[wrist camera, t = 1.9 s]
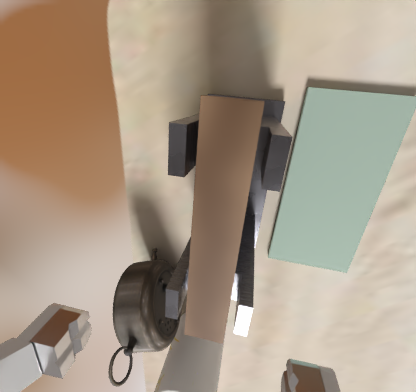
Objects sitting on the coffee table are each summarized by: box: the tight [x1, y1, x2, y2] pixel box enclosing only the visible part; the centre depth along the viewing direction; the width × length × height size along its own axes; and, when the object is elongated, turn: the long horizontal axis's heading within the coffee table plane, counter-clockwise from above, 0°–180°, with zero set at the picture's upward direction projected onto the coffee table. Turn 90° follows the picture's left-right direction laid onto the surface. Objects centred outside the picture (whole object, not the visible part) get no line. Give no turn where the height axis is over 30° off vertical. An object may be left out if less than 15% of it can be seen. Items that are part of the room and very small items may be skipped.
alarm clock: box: [109, 248, 181, 386], centre depth 30 cm, size 11×5×16 cm, turn 15°
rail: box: [184, 95, 265, 344], centre depth 17 cm, size 3×18×3 cm, turn 175°
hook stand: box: [165, 94, 292, 336], centre depth 22 cm, size 8×18×15 cm, turn 175°
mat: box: [268, 87, 416, 273], centre depth 27 cm, size 10×21×1 cm, turn 175°
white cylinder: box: [154, 312, 225, 392], centre depth 35 cm, size 8×8×12 cm
